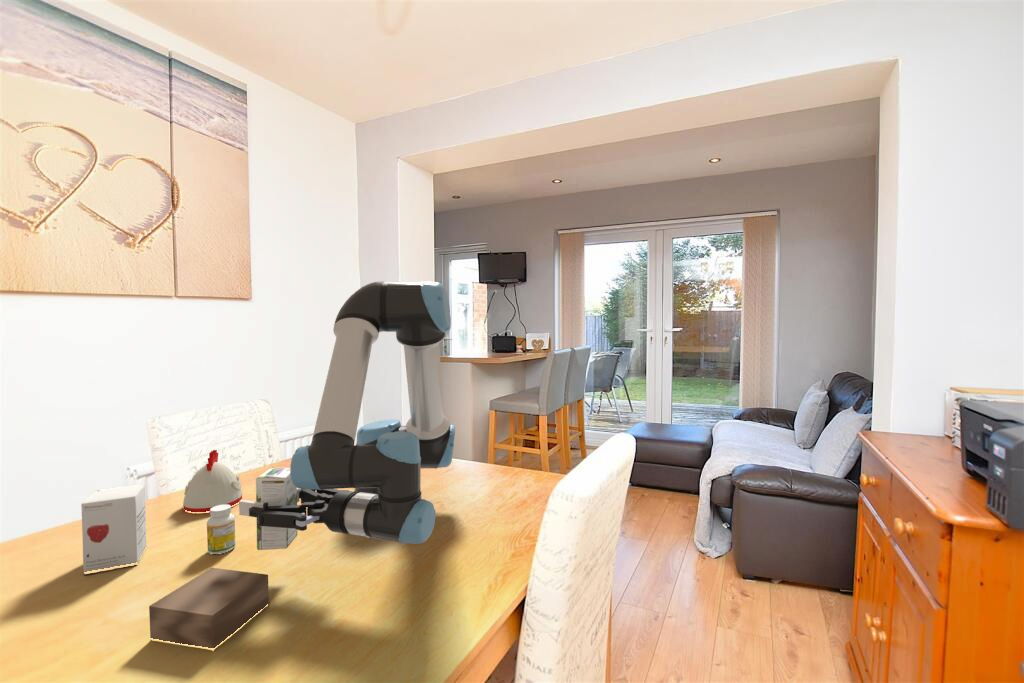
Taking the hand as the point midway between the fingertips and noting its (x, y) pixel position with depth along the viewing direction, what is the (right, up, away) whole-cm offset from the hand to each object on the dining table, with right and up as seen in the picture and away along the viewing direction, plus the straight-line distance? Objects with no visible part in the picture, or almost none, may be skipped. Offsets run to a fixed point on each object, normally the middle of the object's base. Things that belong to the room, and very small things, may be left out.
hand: (257, 499), depth 95 cm
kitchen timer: (-32, -14, +37) cm, 51 cm away
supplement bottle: (-13, -15, +10) cm, 23 cm away
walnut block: (+1, -16, -15) cm, 22 cm away
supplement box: (-33, -15, +5) cm, 37 cm away
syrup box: (+5, -9, -1) cm, 10 cm away
